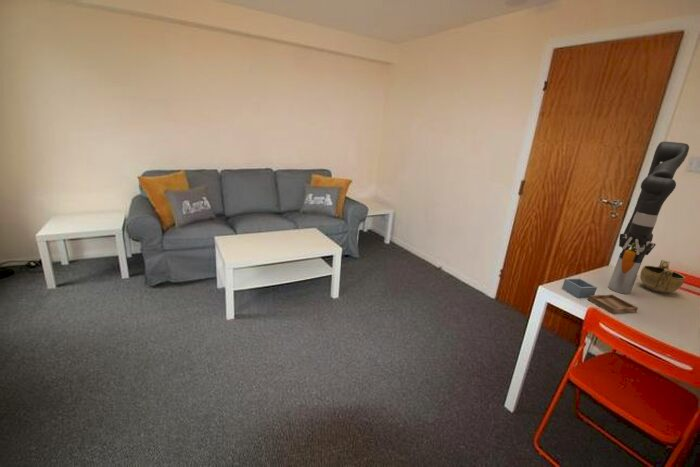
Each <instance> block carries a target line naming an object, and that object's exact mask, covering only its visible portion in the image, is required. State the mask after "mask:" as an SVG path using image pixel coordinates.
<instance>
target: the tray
mask: <svg viewBox="0 0 700 467" xmlns="http://www.w3.org/2000/svg"><path fill="white" fill-rule="evenodd" d="M587 301H588V302H591V303H592V304H594V305H596V306H598V307H599V308H601V309H602V310H605V311H607V313H610V314H611V315H617V314H637V312H638V309H639V307H637V306H635V305H634V304H631V303H629V302H627V301H626V300H623V299H621V298H619V297H617V296H616V295H614V294H597V295H596V294H595V295H590V296H589V297H588V298H587Z"/></svg>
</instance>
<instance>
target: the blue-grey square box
mask: <svg viewBox="0 0 700 467" xmlns="http://www.w3.org/2000/svg"><path fill="white" fill-rule="evenodd" d="M597 289H598V287H597V286H595V285H593V284H591V283H590V282H588V281H586V280H584V279H582V278H564V280H563V283H562V287H561V290H563V291H565V292H567V293H569V294H571V295H572V296H573V297H574V298H577V299H588V297H589V296H590V295H596V291H597Z"/></svg>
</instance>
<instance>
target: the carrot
mask: <svg viewBox="0 0 700 467" xmlns="http://www.w3.org/2000/svg"><path fill="white" fill-rule="evenodd" d="M634 245H635V243H632V245H631V247H630V248H629V249H628V250H625V252H624V255H623V259H622V265H621V266H622V272H623V274H625V273H627V272H628V271H629V270H630V269H631V268H632V267H633V265H634V264H635V263H634V262H633V260H634V257H635V255H636V246H635V247H634ZM640 248H642V247H640Z"/></svg>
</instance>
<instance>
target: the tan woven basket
mask: <svg viewBox="0 0 700 467" xmlns="http://www.w3.org/2000/svg"><path fill="white" fill-rule="evenodd" d="M639 276H640V281H641V283H642V284H643V285H644V286H645V287H646V288H648V289H650V290H651V291H654V292H657V293H661V294H670V293H674V292H676V291H678V290H679V289H681V287H682V286H683V284H684V281H685V279H686V278H685V276H684V275H682V274H681V273H679V272H676V271H674V270H673V269H670V261H668V260H665V259H664V260H663V259H661V260H660V264H659V265H658V266H654V265H643V267H642V269H641V271H640V274H639Z"/></svg>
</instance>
